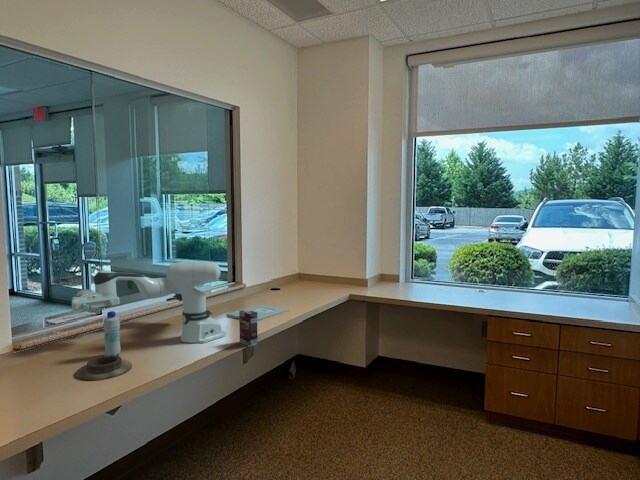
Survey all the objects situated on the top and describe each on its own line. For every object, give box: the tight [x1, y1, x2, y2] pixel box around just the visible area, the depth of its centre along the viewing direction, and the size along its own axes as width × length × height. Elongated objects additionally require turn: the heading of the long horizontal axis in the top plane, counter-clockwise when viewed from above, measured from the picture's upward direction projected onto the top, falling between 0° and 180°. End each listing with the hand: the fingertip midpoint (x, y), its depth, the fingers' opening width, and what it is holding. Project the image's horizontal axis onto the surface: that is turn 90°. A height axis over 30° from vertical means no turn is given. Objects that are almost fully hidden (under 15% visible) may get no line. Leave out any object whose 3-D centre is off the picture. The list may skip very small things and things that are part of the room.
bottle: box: [102, 310, 122, 356], centre depth 184 cm, size 7×7×20 cm
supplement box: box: [238, 308, 258, 347], centre depth 200 cm, size 9×5×16 cm, turn 47°
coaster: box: [75, 355, 133, 382], centre depth 167 cm, size 20×20×4 cm
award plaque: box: [226, 304, 290, 322], centre depth 257 cm, size 25×30×2 cm
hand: (100, 305), depth 193 cm, fingers open, 8 cm apart
